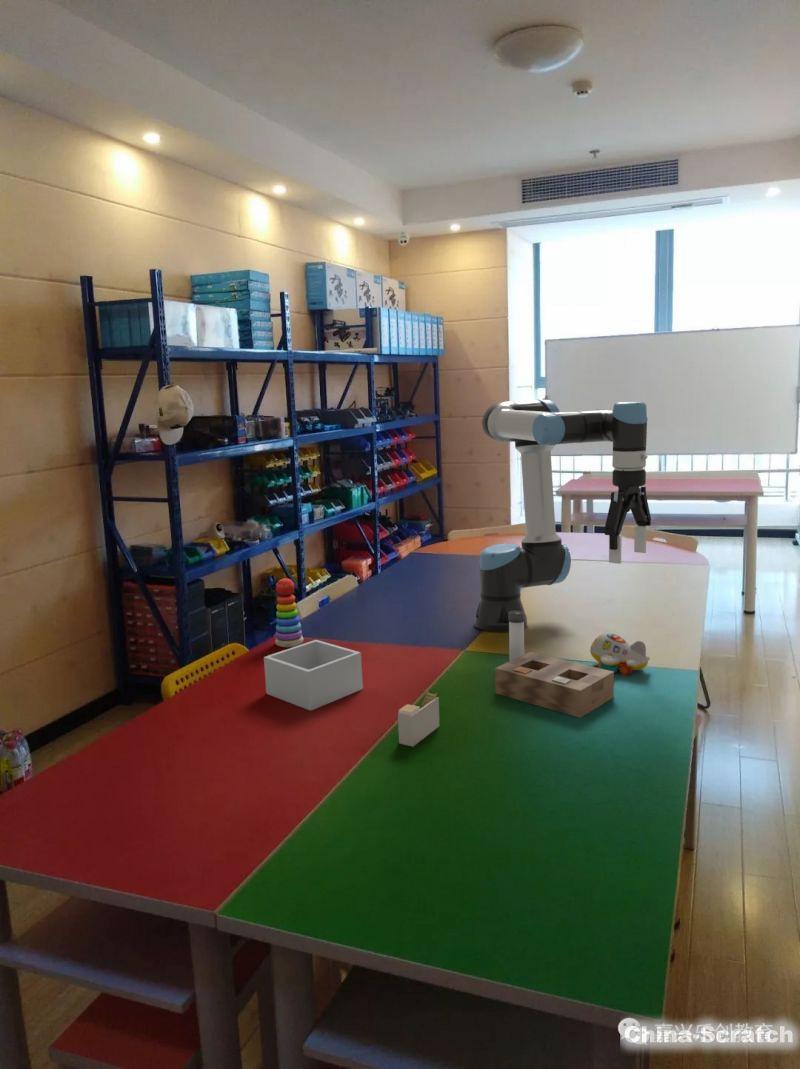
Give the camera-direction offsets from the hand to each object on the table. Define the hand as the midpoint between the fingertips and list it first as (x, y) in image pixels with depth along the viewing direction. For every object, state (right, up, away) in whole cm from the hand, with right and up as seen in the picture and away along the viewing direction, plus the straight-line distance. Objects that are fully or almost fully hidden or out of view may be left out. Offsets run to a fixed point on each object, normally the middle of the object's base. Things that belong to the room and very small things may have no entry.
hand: (627, 557), depth 188 cm
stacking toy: (-85, -25, +33) cm, 95 cm away
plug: (-25, -27, +8) cm, 38 cm away
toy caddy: (-75, -31, -3) cm, 81 cm away
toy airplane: (-1, -27, +4) cm, 28 cm away
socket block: (-20, -31, -11) cm, 38 cm away
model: (-50, -36, -28) cm, 68 cm away
